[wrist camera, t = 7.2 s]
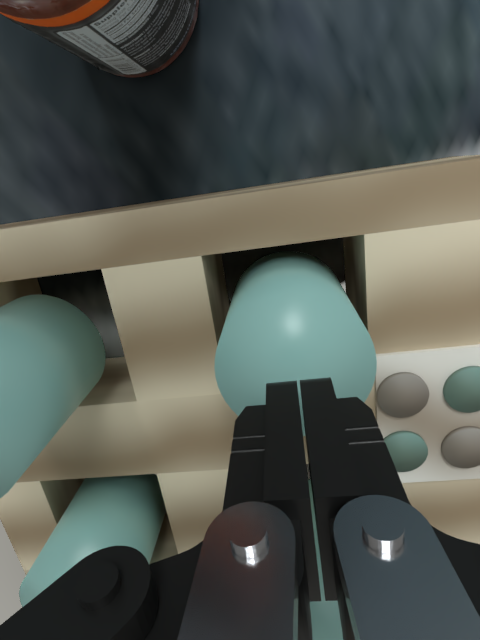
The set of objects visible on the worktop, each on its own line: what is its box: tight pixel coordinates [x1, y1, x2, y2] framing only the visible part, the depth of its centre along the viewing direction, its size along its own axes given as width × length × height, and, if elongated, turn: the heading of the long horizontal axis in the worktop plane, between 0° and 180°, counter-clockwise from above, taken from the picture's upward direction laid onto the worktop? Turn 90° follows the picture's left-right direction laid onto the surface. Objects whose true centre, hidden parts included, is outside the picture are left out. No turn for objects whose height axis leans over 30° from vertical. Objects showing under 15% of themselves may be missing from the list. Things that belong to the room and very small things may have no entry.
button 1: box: [19, 474, 166, 607], centre depth 19 cm, size 5×5×6 cm
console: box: [0, 155, 480, 575], centre depth 20 cm, size 20×24×5 cm
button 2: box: [0, 294, 106, 498], centre depth 14 cm, size 5×5×6 cm
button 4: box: [214, 251, 377, 436], centre depth 15 cm, size 5×5×6 cm
